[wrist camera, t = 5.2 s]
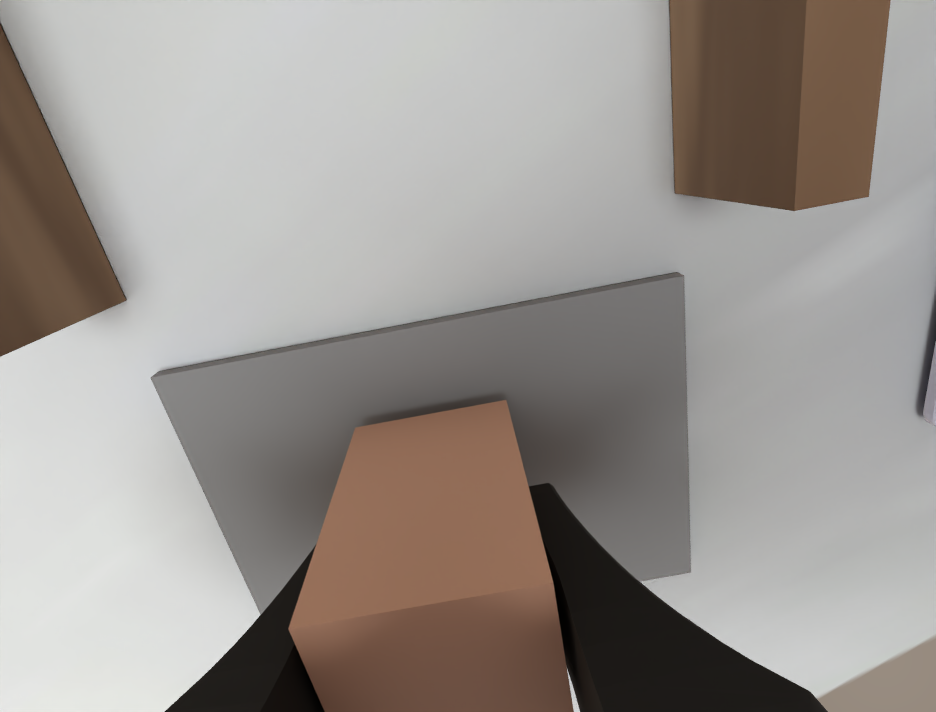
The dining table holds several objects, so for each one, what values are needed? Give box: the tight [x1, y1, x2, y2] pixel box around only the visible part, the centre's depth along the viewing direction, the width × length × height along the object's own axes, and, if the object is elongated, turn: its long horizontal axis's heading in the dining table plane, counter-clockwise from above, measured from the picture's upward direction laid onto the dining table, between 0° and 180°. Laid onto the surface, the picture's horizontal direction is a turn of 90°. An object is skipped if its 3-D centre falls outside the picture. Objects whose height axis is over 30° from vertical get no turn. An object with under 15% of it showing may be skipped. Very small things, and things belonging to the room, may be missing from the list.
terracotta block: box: [288, 400, 574, 712], centre depth 11 cm, size 4×4×6 cm
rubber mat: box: [151, 273, 691, 614], centre depth 15 cm, size 14×10×1 cm
